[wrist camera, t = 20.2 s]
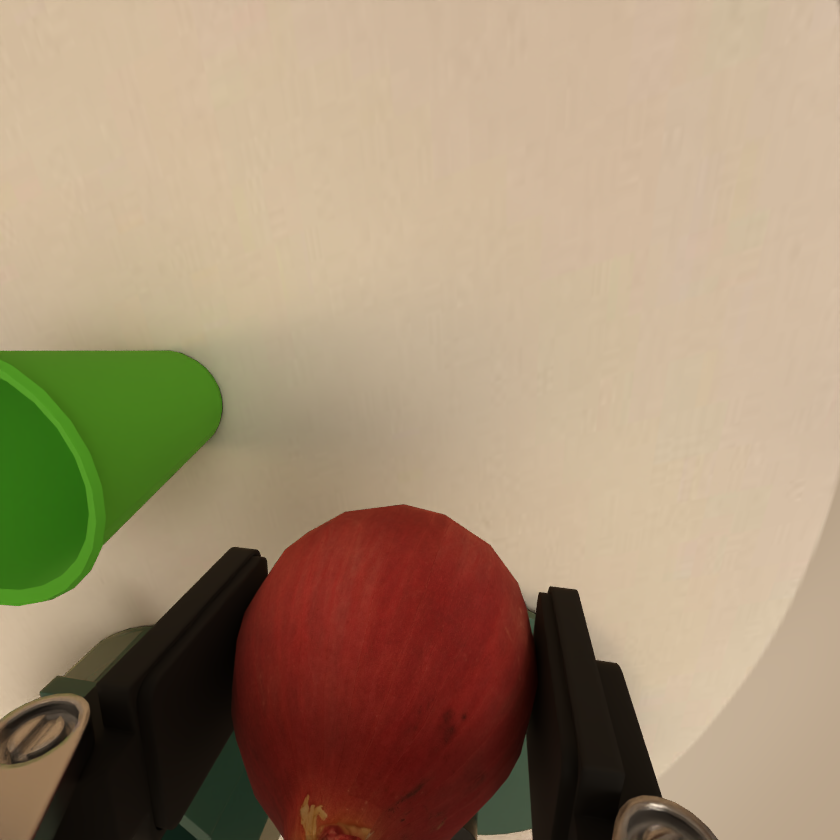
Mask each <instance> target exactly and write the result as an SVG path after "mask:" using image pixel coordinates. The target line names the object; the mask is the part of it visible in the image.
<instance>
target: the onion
mask: <svg viewBox="0 0 840 840" xmlns="http://www.w3.org/2000/svg"><path fill="white" fill-rule="evenodd" d="M537 686H538V674H537V660H536V647H535V643H534V639H533V634H532V630H531V626H530V621H529V617H528V612H527V608H526V605H525V602H524V599H523V596H522V593H521V591H520V588H519V585H518V582H517V581H516V580H515V578H514V577H513V576H512V574H511V573H510V572H509V570H508V569H507V567H506V566H505V565H504V563H503V562H502V561H501V559H500V558H499V556H498V555H497V554H496V552H495V551H494V550H493V548H492V547H491V545H489V544H488V543H486V542H485V541H483V540H482V539H480V538H479V537H477V536H476V535H474V534H473V533H471V532H470V531H468V530H467V529H465V528H464V527H462V526H461V525H459V524H458V523H456V522H455V521H453V520H452V519H450V518H449V517H447V516H446V515H444V514H440V513H436V512H432V511H428V510H424V509H420V508H416V507H412V506H408V505H404V504H403V505H395V506H387V507H379V508H371V509H363V510H356V511H348V512H344V513H342V514H340V515H339V516H337V517H335V518H333V519H331V520H329V521H328V522H326V523H324V524H322V525H320V526H319V527H317V528H315V529H313V530H311V531H309V532H308V533H306V534H305V535H304V536H302V537H301V538H300V539H298V540H297V541H296V542H295V543H293V544H292V545H291V546H289V547H288V548H287V549H285V551H284V552H283V554H282V555H281V557H280V558H279V559H278V561H277V562H276V564H275V565H274V567H273V568H272V570H271V571H270V573H269V574H268V576H267V577H266V579H265V580H264V581H263V583H262V584H261V586H260V588H259V589H258V591H257V593H256V594H255V596H254V597H253V599H252V601H251V602H250V604H249V606H248V607H247V609H246V611H245V612H244V616H243V619H242V623H241V627H240V630H239V634H238V638H237V642H236V652H235V662H234V672H233V682H232V701H231V715H232V721H233V726H234V732H235V737H236V740H237V744H238V747H239V750H240V753H241V756H242V759H243V762H244V766H245V769H246V772H247V775H248V778H249V781H250V784H251V787H252V790H253V793H254V795H255V797H256V799H257V800H258V802H259V803H260V805H261V806H262V808H263V809H264V811H265V812H266V814H267V815H268V817H269V818H270V819H271V821H272V822H273V824H274V825H275V827H276V828H277V830H278V831H279V832H280V834H281V835H282V837H283V838H284V840H450V839H451V838H452V837H453V836H454V835H455V834H456V833H457V832H458V831H459V830H460V829H461V828H462V827H463V826H464V825H465V824H466V823H467V822H468V821H469V820H470V819H471V818H472V817H473V816H474V815H475V814H476V813H477V812H478V811H479V810H480V809H481V808H482V807H483V806H484V805H485V804H486V803H487V802H488V801H489V800H490V799H491V798H492V796H493V795H494V794H495V793H496V792H497V790H498V789H499V788H500V787H501V786H502V784H503V783H504V782H505V781H506V780H507V778H508V777H509V775H510V773H511V772H512V770H513V768H514V766H515V764H516V762H517V760H518V759H519V757H520V755H521V751H522V747H523V743H524V739H525V735H526V732H527V728H528V724H529V720H530V716H531V712H532V708H533V703H534V699H535V695H536V690H537Z"/></svg>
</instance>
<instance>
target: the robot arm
mask: <svg viewBox="0 0 840 840" xmlns="http://www.w3.org/2000/svg"><path fill="white" fill-rule="evenodd" d="M267 576H268V567H267V560H266V558H265V557H261V554H260V552H259V551H258V550H255V549H247V548H239V547H232V548H231V549H229V550H228V551H227V552H226V553H225V554H224V555H223V556H222V557H221V558H220V559H219V560H218V561H217V562H216V563H215V564H214V565H213V566H212V567H211V568H210V569H209V570H208V571H207V572H206V573H205V574H204V575H203V576H202V577H201V579H200V580H199V581H198V582H197V583H196V584H195V585H194V586H193V587H192V588H191V589H190V590H189V591H188V592H187V593H186V594H185V595H184V596H183V597H182V598H181V599H180V600H179V601H178V602H177V603H176V604H175V605H174V606H173V607H172V608H171V609H170V610H169V611H168V612H167V613H166V614H165V615H164V616H163V617H162V618H161V619H160V620H159V621H158V622H157V623H156V624H155V625H154V626H153V627H152V628H151V629H150V630H149V631H148V632H147V633H146V634H145V635H144V636H143V637H142V638H141V639H140V640H139V641H138V642H137V643H136V644H135V645H134V646H133V647H132V648H131V649H130V650H129V651H128V652H127V653H126V654H125V655H124V656H123V657H122V658H121V659H120V660H119V661H118V662H117V663H116V664H115V665H114V666H113V667H112V668H111V669H110V670H109V671H108V672H107V673H106V674H105V675H104V676H103V677H102V678H101V679H100V680H99V681H98V682H97V683H96V686H95V687H94V688H93V689H92V690H91V691H90V692H89V693H88V694H87V695H86V696H85V697H84V698H83V697H82V696H79V695H75V694H72V693H60V694H53V695H49V696H44V697H41V698H38V699H36V700H33V701H31V702H28V703H26V704H24V705H22V706H20V707H19V708H17V709H15V710H13V711H12V712H10V713H8V714H7V715H6V716H4V717H3V718H2V719H1V720H0V840H161V839H162V837H163V835H164V834H165V832H166V830H173V829H175V828H176V827H177V825H178V824H179V823H180V821H181V820H182V818H183V816H184V814H185V813H186V811H187V809H188V808H189V806H190V804H191V802H192V801H193V799H194V797H195V796H196V794H197V792H198V790H199V789H200V787H201V785H202V784H203V782H204V780H205V778H206V777H207V775H208V773H209V772H210V770H211V768H212V767H213V765H214V763H215V761H216V760H217V758H218V756H219V755H220V753H221V751H222V749H223V748H224V746H225V744H226V743H227V741H228V739H229V737H230V736H231V734H232V732H233V731H234V726H233V721H232V715H231V701H232V682H233V672H234V662H235V652H236V642H237V638H238V634H239V630H240V627H241V623H242V619H243V616H244V612H245V611H246V609H247V607H248V606H249V604H250V602H251V601H252V599H253V597H254V596H255V594H256V593H257V591H258V589H259V588H260V586H261V584H262V583H263V581H264V580H265V579H266V577H267ZM533 639H534V643H535V647H536V660H537V674H538V686H537V690H536V695H535V699H534V703H533V708H532V712H531V716H530V720H529V724H528V728H527V732H526V740H527V756H528V772H529V788H530V804H531V820H532V835H533V840H718V839H717V838H716V836H715V835H714V834H713V833H712V831H711V830H710V829H709V828H708V827H707V826H706V825H705V824H704V823H703V822H702V821H701V820H700V819H699V818H697V817H696V816H695V815H694V814H693V813H691V812H690V811H688V810H687V809H685V808H683V807H682V806H680V805H679V804H677V803H675V802H672V801H670V800H667V799H664V798H662V795H661V792H660V789H659V786H658V783H657V779H656V776H655V773H654V770H653V767H652V764H651V761H650V757H649V754H648V751H647V748H646V745H645V742H644V739H643V735H642V732H641V729H640V726H639V723H638V720H637V717H636V713H635V710H634V707H633V704H632V701H631V698H630V695H629V691H628V688H627V685H626V682H625V679H624V676H623V673H622V670H621V668H620V666H619V665H618V664H617V663H612V662H605V661H598V660H596V659H595V656H594V652H593V648H592V644H591V640H590V636H589V632H588V628H587V625H586V621H585V617H584V613H583V609H582V605H581V601H580V597H579V594H578V591H577V590H575V589H567V588H559V587H551V586H550V587H549V590H548V593H542V592H539V595H538V600H537V608H536V616H535V624H534V631H533Z"/></svg>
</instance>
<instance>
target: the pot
mask: <svg viewBox="0 0 840 840" xmlns="http://www.w3.org/2000/svg"><path fill="white" fill-rule="evenodd" d="M152 627H153V626H143V627H137V628H131V629H127V630H124V631H121V632H118V633H116V634H114V635H112V636H110V637H108V638H106V639H104V640H102V641H101V642H100V643H99V644H97V645H96V646H95V647H94V648H93V649H92V650H91V651H90V652H89V653H87V654H86V655H85V656H84V657H83V658H82V659H81V660H80V661H79V662H78V663H76V664H75V665H74V666H73V667H72V668H71V669H70V670H69V671H68V672H67V673H66V674H65V675H64V676H56V677H55V678H54V679H53V680H52V681H51V682H50V683H49V684H48V685H47V686H46V687H45V688H43V689H42V690H41V691H40V696H41V697H44V696H49V695H53V694H60V693H72V694H75V695H79V696H82V697H83V698H84V697H85V696H86V695H87V694H88V693H89V692H90V691H91V690H92V689H93V688H94V687H95V686H96V683H97V682H98V681H99V680H100V679H101V678H102V677H103V676H104V675H105V674H106V673H107V672H108V671H109V670H110V669H111V668H112V667H113V666H114V665H115V664H116V663H117V662H118V661H119V660H120V659H121V658H122V657H123V656H124V655H125V654H126V653H127V652H128V651H129V650H130V649H131V648H132V647H133V646H134V645H135V644H136V643H137V642H138V641H139V640H140V639H141V638H142V637H143V636H144V635H145V634H146V633H147V632H148V631H149V630H150V629H151V628H152ZM41 697H40V698H41ZM279 836H280V832H279V831H278V830H277V828H276V827H275V825H274V824H273V822H272V821H271V819H270V818H269V817H268V815H267V814H266V812H265V811H264V809H263V808H262V806H261V805H260V803H259V802H258V800H257V799H256V797H255V795H254V793H253V790H252V787H251V784H250V781H249V778H248V775H247V772H246V769H245V766H244V762H243V759H242V756H241V753H240V750H239V747H238V744H237V740H236V737H235V732H234V731H233V732H232V734H231V736H230V737H229V739H228V741H227V743H226V744H225V746H224V748H223V749H222V751H221V753H220V755H219V756H218V758H217V760H216V761H215V763H214V765H213V767H212V768H211V770H210V772H209V773H208V775H207V777H206V778H205V780H204V782H203V784H202V785H201V787H200V789H199V790H198V792H197V794H196V796H195V797H194V799H193V801H192V802H191V804H190V806H189V808H188V809H187V811H186V813H185V814H184V816H183V818H182V820H181V821H180V823H179V824H178V825H177V827H176V828H175V829H173V830H166V832H165V834H164V835H163V837H162V839H161V840H278V839H279Z"/></svg>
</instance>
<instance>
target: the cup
mask: <svg viewBox="0 0 840 840" xmlns="http://www.w3.org/2000/svg"><path fill="white" fill-rule="evenodd" d="M221 414H222V397H221V394H220V390H219V387H218V385H217V383H216V381H215V379H214V378H213V376H212V375H211V374H210V373H209V371H208V370H207V369H206V368H205V367H204V366H202V365H201V364H200V363H199V362H197V361H196V360H194V359H192V358H190V357H188V356H186V355H184V354H182V353H178V352H174V351H0V605H12V606H21V605H26V604H32V603H37V602H43V601H47V600H52V599H54V598H56V597H58V596H60V595H62V594H64V593H66V592H68V591H69V590H71V589H73V588H75V587H76V586H77V585H78V584H79V582H80V581H81V580H82V579H83V578H84V577H85V576H86V575H87V574H88V573H89V572H90V571H91V570H92V567H93V565H94V563H95V561H96V559H97V557H98V555H99V552H100V550H101V548H102V546H103V545H104V544H105V543H106V542H107V541H108V540H109V539H110V538H111V537H112V536H113V535H114V534H115V533H116V532H117V531H118V530H119V529H120V528H121V527H122V526H123V525H124V524H125V523H126V522H127V521H128V520H129V519H130V518H131V517H132V516H133V515H134V514H135V513H136V512H137V511H138V510H139V509H140V508H141V507H142V506H143V505H144V504H145V503H146V502H147V501H148V500H149V499H150V498H151V497H152V496H153V495H154V494H155V493H156V492H157V491H158V490H159V489H160V488H161V487H162V486H163V485H164V484H165V483H166V482H167V481H168V480H169V479H170V478H171V477H172V476H173V475H174V474H175V473H176V472H177V471H178V470H179V469H180V468H181V467H182V466H183V465H184V464H185V463H186V462H187V461H188V460H189V459H190V458H191V457H192V456H193V455H194V454H195V453H196V452H197V451H198V450H199V449H200V448H201V447H202V446H203V445H204V444H205V443H206V442H207V441H208V440H209V439H210V438H211V437H212V436H213V435H214V433H215V431H216V429H217V427H218V426H219V423H220V419H221Z"/></svg>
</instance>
